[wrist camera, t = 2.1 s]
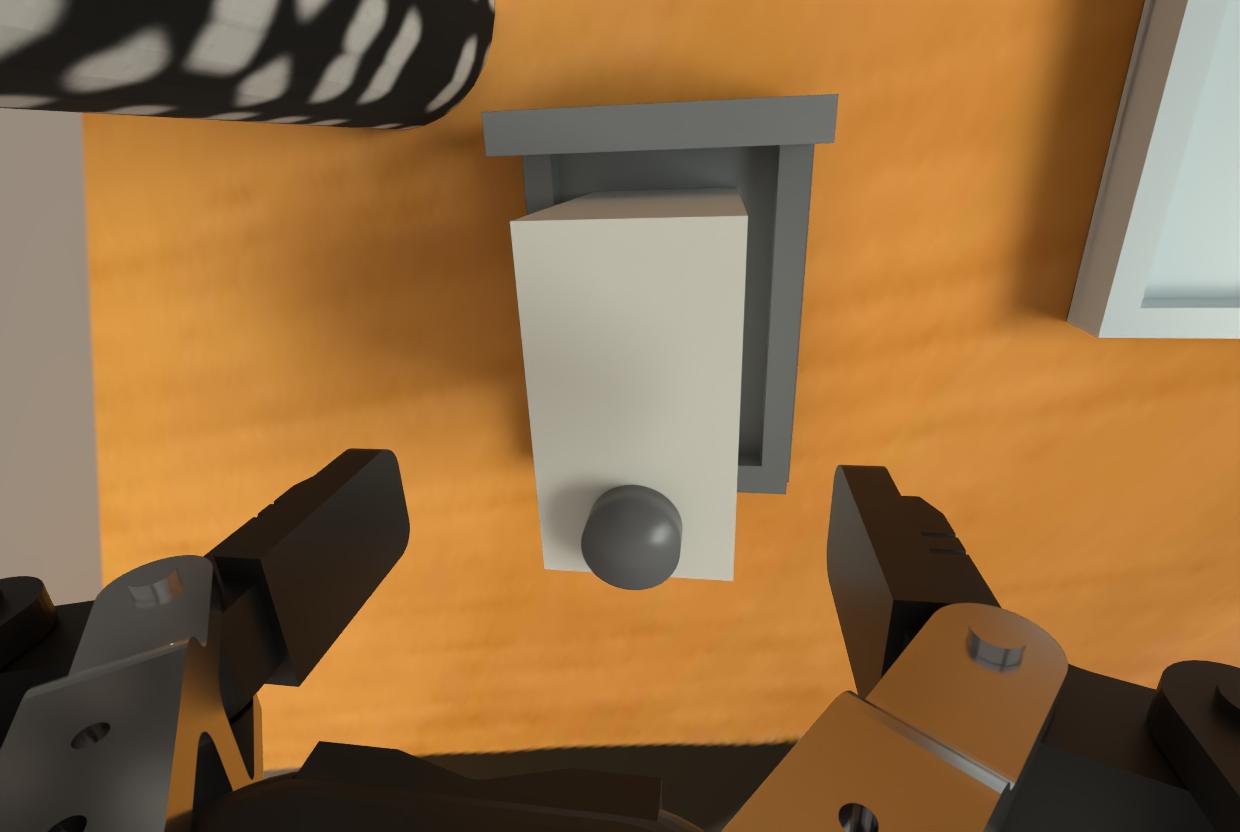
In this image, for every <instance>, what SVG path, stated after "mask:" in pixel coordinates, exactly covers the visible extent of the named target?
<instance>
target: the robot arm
mask: <svg viewBox="0 0 1240 832" xmlns="http://www.w3.org/2000/svg"><path fill="white" fill-rule="evenodd" d="M409 533H410V523H409V517H408V512H407V507H406V501H405V496H404V491H403V486H402V481H401V475H400V470H399V465H398V461H397V458H396V456H395V454H394V453H393V452H392V451H391V450H385V449H354V448H352V449H348V450H346V451H345V452H343V453H342V454H341V455H340V456H338V457H337V458H336V459H334V460H333V461H332V462H331V463H329V464H328V465H327V466H326V467H324V468H323V469H322V470H321V471H319V472H318V473H317V474H316V475H314V476H313V477H311V478H309V479H307V480H304V481H302V482H300V483H298V484H296V485H294V486H293V487H291V488H290V489H289V490H287V491H286V492H285V493H284V494H282V495H281V496H280V497H279V498H277V499H276V500H275V501H274V504H270V505H268V506H267V507H266V508H265V509H263V510H262V511H261V512H259V513H258V517H253V518H252V519H251V520H249V521H248V522H247V523H245V524H244V525H243V526H242V527H240V528H239V529H238V530H236V531H235V532H234V533H233V534H231V535H230V536H229V537H228V538H226V539H225V540H224V541H222V542H221V543H220V544H219V545H217V546H216V547H215V548H214V549H212V550H211V551H210V552H208V553H207V554H206V555H205V556H203V557H202V556H196V555H183V556H175V557H169V558H165V559H160V560H157V561H154V562H151V563H148V564H145V565H142V566H140V567H138V568H135V569H133V570H131V571H129V572H127V573H125V574H123V575H122V576H120V577H118V578H117V579H115V580H114V581H112V582H111V583H110V584H108V585H107V586H106V587H105V588H104V589H103V590H102V591H101V592H100V593H99V594H98V596H97V597H96V599H95V600H94V601H87V602H80V603H73V604H66V605H59V606H54V605H53V603H52V601H51V599H50V597H49V595H48V592H47V590H46V588H45V586H44V584H43V582H42V581H41V580H40V579H38V578H35V577H29V576H18V577H10V578H4V579H0V832H704V831H703V830H701V829H700V828H699V827H697V826H695V825H693V824H691V823H689V822H688V821H686V820H684V819H682V818H680V817H679V816H676V815H674V814H671V813H669V812H666V811H664V810H662V797H661V796H662V794H661V793H662V791H661V778H660V777H651V776H642V775H633V774H624V773H614V772H604V771H595V770H586V769H576V768H569V769H560V770H553V771H545V772H538V773H530V774H523V775H515V776H507V777H500V778H492V779H484V780H475V779H470V778H466V777H464V776H462V775H459V774H457V773H454V772H452V771H449V770H447V769H445V768H442V767H440V766H437V765H435V764H432V763H430V762H427V761H425V760H422V759H420V758H418V757H415V756H413V755H410V754H408V753H405V752H403V751H400V750H398V749H389V748H379V747H370V746H360V745H351V744H342V743H332V742H323V741H319V742H318V744H317V745H316V747H315V748H314V750H313V751H312V752H311V754H310V755H309V757H308V758H307V760H306V761H305V763H304V764H303V766H302V767H301V769H300V770H299V771H298V772H291V773H287V774H282V775H279V776H275V777H270V778H267V779H264V780H263V745H262V710H261V705H260V702H259V699H258V696H257V694H256V693H257V692H258V691H259V689H260V688H261V687H262V686H263V685H264V684H274V685H285V686H296V687H299V686H300V685H301V684H302V682H303V681H304V680H305V679H306V677H307V676H308V675H309V673H310V672H311V671H312V670H313V668H314V667H315V666H316V665H317V663H318V662H319V661H320V659H321V658H322V657H323V656H324V654H325V653H326V652H327V651H328V649H329V648H330V647H331V645H332V644H333V643H334V642H335V640H336V639H337V638H338V637H339V635H340V634H341V633H342V631H343V630H344V629H345V628H346V626H347V625H348V624H349V623H350V621H351V620H352V619H353V617H354V616H355V615H356V614H357V612H358V611H359V610H360V609H361V607H362V606H363V605H364V603H365V602H366V601H367V600H368V598H369V597H370V596H371V595H372V593H373V592H374V591H375V589H376V588H377V587H378V586H379V584H380V583H381V582H382V581H383V579H384V578H385V577H386V575H387V574H388V573H389V572H390V570H391V569H392V568H393V567H394V565H395V564H396V563H397V561H398V560H399V559H400V558H401V556H402V555H403V553H404V551H405V549H406V547H407V544H408V540H409ZM827 571H828V578H829V583H830V587H831V591H832V595H833V599H834V602H835V606H836V610H837V614H838V618H839V622H840V626H841V630H842V634H843V637H844V641H845V645H846V649H847V653H848V657H849V661H850V665H851V669H852V672H853V676H854V680H855V684H856V688H857V692H858V695H857V694H855V693H854V692H852V691H845V692H843V693H841V694H840V695H839V696H838V697H836V699H835V700H834V701H833V702H832V703H831V704H830V705H829V706H828V707H827V709H826V710H825V711H824V712H823V713H822V715H821V716H820V717H819V718H818V719H817V720H816V722H815V723H814V724H813V725H812V726H811V727H810V729H809V730H808V731H807V732H806V733H805V734H804V736H803V737H802V738H801V739H800V740H799V741H798V743H797V744H796V745H795V746H794V747H793V748H792V750H791V751H790V752H789V753H788V755H787V756H786V757H785V758H784V759H783V760H782V761H781V762H780V764H779V765H778V766H777V767H776V769H775V770H774V771H773V772H772V773H771V774H770V775H769V777H768V778H767V779H766V780H765V781H764V782H763V784H762V785H761V786H760V787H759V788H758V789H757V791H756V792H755V793H754V794H753V795H752V796H751V798H750V799H749V800H748V801H747V802H746V804H745V805H744V806H743V807H742V808H741V809H740V810H739V812H738V813H737V814H736V815H735V816H734V818H733V819H732V820H731V821H730V822H729V823H728V825H727V826H726V827H725V828H724V829H723V830H722V832H1240V668H1238V667H1234V666H1230V665H1226V664H1222V663H1216V662H1210V661H1198V660H1191V661H1182V662H1178V663H1174V664H1172V665H1170V666H1168V667H1167V668H1166V669H1165V670H1164V671H1163V674H1162V676H1161V679H1160V681H1159V684H1158V687H1157V689H1156V690H1155V689H1151V688H1148V687H1144V686H1140V685H1137V684H1133V683H1129V682H1126V681H1122V680H1118V679H1115V678H1111V677H1108V676H1104V675H1100V674H1097V673H1093V672H1090V671H1087V670H1084V669H1081V668H1078V667H1075V666H1073V665H1070V664H1068V660H1067V658H1066V655H1065V652H1064V651H1063V649H1062V648H1061V646H1060V645H1059V643H1058V642H1057V641H1056V640H1055V639H1054V638H1053V637H1052V636H1051V635H1050V634H1049V633H1047V632H1046V631H1045V630H1044V629H1042V628H1041V627H1040V626H1038V625H1037V624H1035V623H1033V622H1032V621H1030V620H1028V619H1026V618H1025V617H1022V616H1020V615H1018V614H1016V613H1013V612H1011V611H1008V610H1005V609H1002V608H1001V606H1000V605H999V603H998V602H997V600H996V598H995V597H994V595H993V593H992V592H991V590H990V589H989V587H988V585H987V584H986V582H985V581H984V579H983V577H982V576H981V574H980V573H979V571H978V569H977V568H976V566H975V564H974V563H973V561H972V560H971V558H970V556H969V555H966V550H965V548H964V547H963V545H962V543H961V542H960V540H959V539H958V538H956V537H955V532H954V531H953V529H952V527H951V526H950V524H949V523H948V521H947V519H946V518H945V516H944V514H943V513H941V512H940V511H938V510H937V509H936V508H934V507H933V506H931V505H930V504H929V503H927V502H926V501H925V500H923V499H922V498H920V497H916V496H901V495H900V493H899V491H898V489H897V487H896V485H895V483H894V482H893V480H892V478H891V476H890V474H889V472H888V470H887V469H886V467H884V466H857V465H838V466H837V468H836V471H835V476H834V484H833V494H832V503H831V513H830V522H829V531H828V541H827Z"/></svg>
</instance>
